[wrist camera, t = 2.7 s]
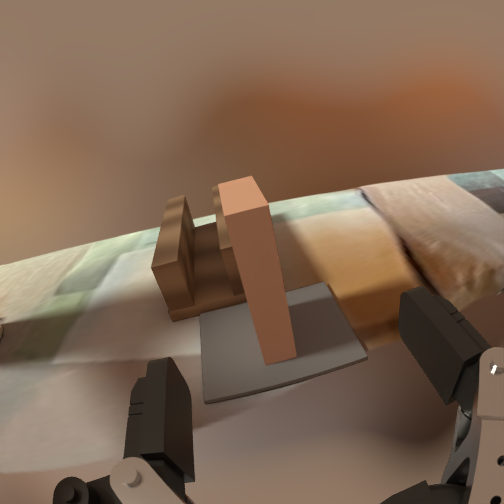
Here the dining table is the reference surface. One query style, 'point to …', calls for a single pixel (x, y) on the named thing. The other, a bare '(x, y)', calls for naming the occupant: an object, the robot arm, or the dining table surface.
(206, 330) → the mat
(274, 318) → the block
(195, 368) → the dining table surface
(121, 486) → the robot arm
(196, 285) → the rack
